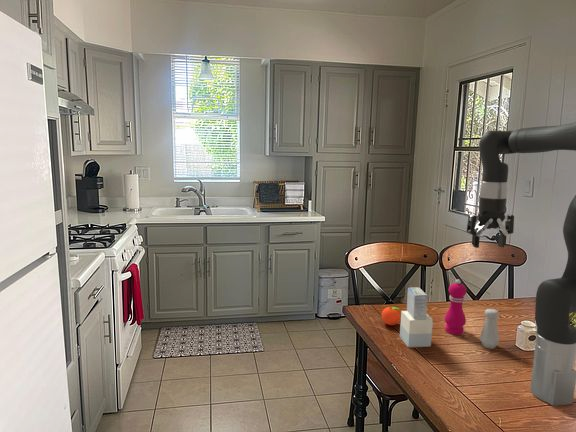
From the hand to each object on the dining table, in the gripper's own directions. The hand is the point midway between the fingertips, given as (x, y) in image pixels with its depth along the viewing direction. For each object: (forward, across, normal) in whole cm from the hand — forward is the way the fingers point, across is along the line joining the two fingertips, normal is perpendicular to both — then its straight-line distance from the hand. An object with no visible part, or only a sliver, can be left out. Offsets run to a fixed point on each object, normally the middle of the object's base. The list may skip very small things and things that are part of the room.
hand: (488, 247), depth 128 cm
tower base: (+36, -18, +10) cm, 42 cm away
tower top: (+31, -18, +10) cm, 37 cm away
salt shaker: (+36, +6, +4) cm, 37 cm away
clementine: (+36, -21, +24) cm, 48 cm away
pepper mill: (+36, 0, +16) cm, 40 cm away
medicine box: (+26, -18, +10) cm, 34 cm away
